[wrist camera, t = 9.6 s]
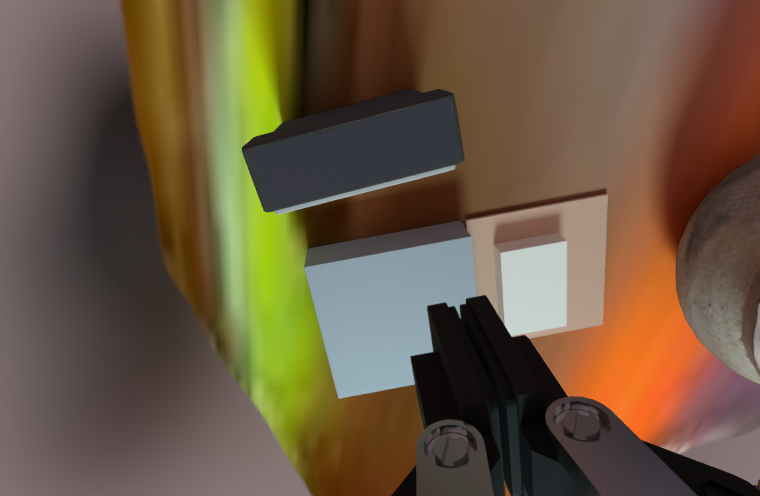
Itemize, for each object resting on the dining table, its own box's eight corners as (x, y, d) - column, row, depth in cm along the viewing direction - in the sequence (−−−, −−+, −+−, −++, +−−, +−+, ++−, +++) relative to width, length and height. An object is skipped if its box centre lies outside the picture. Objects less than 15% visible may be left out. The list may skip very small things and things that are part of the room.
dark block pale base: (295, 166, 37) (267, 228, 23) (278, 114, 36) (238, 148, 22) (422, 133, 37) (469, 176, 23) (411, 80, 35) (455, 92, 22)
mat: (465, 219, 40) (466, 220, 40) (605, 193, 40) (608, 194, 40) (477, 345, 46) (478, 347, 45) (600, 322, 46) (602, 324, 45)
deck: (307, 248, 40) (304, 267, 36) (459, 220, 40) (471, 236, 37) (339, 371, 46) (338, 398, 42) (472, 346, 46) (483, 371, 42)
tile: (567, 240, 39) (557, 232, 41) (500, 252, 39) (493, 244, 41) (566, 325, 43) (557, 315, 45) (505, 337, 43) (498, 325, 45)
